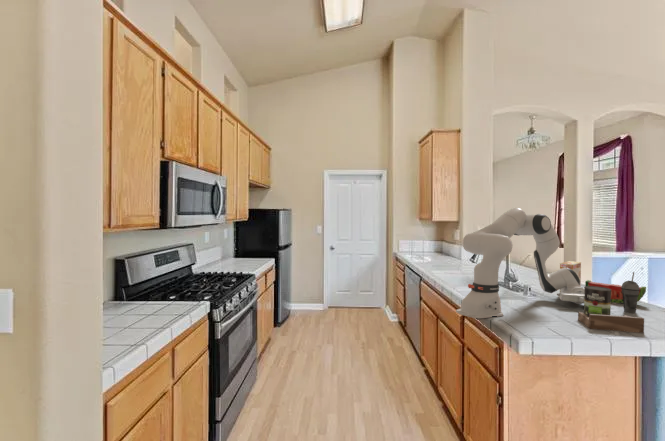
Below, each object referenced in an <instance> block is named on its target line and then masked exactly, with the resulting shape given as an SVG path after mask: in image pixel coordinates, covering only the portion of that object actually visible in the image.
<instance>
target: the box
mask: <svg viewBox="0 0 665 441" xmlns="http://www.w3.org/2000/svg"><path fill="white" fill-rule="evenodd" d="M577 312H578V314H577V320H578V321H579V322H581V323H582V324H583V325H585V326H586V327H587V328H589V330H600V331H612V332H613V331H614V332H626V333H638V334H639V333H641V334H644V333H645V318H644V317H641V316H640V317H639V316H629V315H628V314H623V315H611V314H610V315H599V314H589V317H588V316H587V315H585V314H584V312H582V311H577Z"/></svg>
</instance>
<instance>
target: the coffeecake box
mask: <svg viewBox="0 0 665 441" xmlns="http://www.w3.org/2000/svg"><path fill="white" fill-rule="evenodd" d="M565 267H567V268H570V269H572V270H573V271H574V272H575V273H576V274H577V276H578V277H579V280H580V285H579V287H581V286H582V262H581V261H575V260H574V261H573V260H568V261H564V262H560V263H559V270H560V269H562V268H565ZM560 292H561V289H559V293H560Z"/></svg>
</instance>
